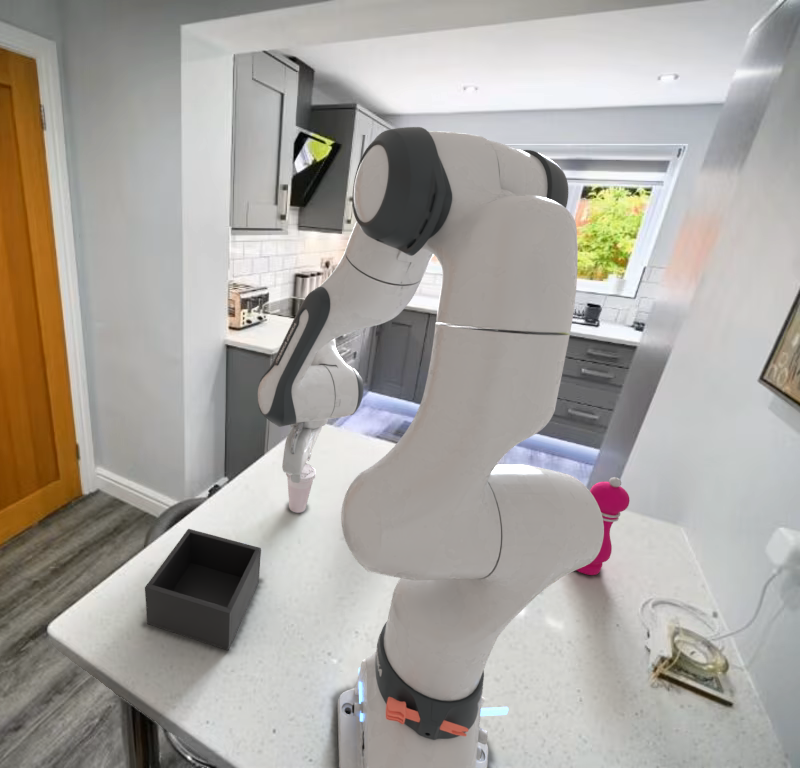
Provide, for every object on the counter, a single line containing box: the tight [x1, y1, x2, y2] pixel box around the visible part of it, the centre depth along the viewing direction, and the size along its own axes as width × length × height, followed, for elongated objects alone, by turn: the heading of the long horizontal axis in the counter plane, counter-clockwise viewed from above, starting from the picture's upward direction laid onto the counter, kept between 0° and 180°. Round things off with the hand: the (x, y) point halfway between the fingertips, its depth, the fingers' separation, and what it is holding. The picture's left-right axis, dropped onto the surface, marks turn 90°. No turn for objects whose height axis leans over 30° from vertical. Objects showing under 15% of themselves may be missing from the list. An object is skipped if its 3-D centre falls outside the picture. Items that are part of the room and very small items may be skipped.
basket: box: [144, 528, 262, 651], centre depth 71 cm, size 14×14×8 cm
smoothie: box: [285, 462, 317, 514], centre depth 94 cm, size 6×6×14 cm
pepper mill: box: [576, 476, 630, 576], centre depth 83 cm, size 7×7×20 cm
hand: (301, 469), depth 93 cm, fingers open, 7 cm apart
